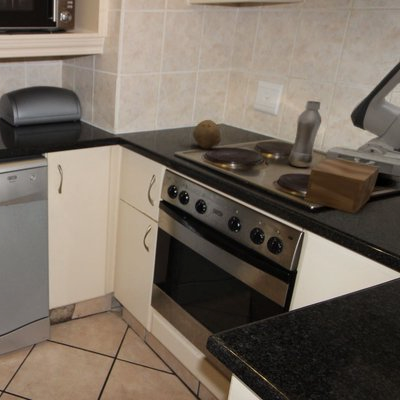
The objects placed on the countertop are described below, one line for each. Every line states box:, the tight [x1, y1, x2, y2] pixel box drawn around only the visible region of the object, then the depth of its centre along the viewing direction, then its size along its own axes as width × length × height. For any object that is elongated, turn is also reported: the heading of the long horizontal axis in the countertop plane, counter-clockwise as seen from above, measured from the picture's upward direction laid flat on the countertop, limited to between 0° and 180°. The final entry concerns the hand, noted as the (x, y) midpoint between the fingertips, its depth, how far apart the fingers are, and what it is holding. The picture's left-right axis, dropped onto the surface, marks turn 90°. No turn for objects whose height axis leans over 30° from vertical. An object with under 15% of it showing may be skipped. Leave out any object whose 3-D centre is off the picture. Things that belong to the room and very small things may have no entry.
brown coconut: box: [192, 119, 222, 150], centre depth 165 cm, size 9×9×10 cm
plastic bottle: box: [288, 100, 322, 168], centre depth 146 cm, size 6×7×20 cm
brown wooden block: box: [336, 158, 380, 192], centre depth 127 cm, size 14×10×7 cm
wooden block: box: [303, 158, 379, 214], centre depth 123 cm, size 14×12×9 cm
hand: (359, 166), depth 132 cm, fingers closed
